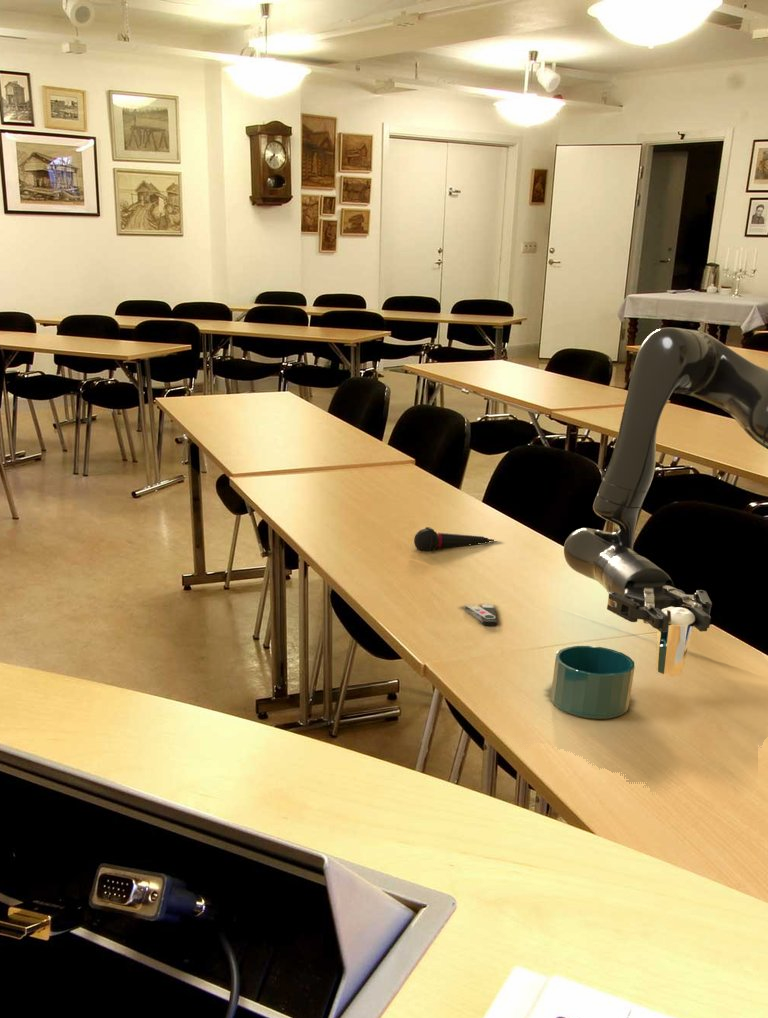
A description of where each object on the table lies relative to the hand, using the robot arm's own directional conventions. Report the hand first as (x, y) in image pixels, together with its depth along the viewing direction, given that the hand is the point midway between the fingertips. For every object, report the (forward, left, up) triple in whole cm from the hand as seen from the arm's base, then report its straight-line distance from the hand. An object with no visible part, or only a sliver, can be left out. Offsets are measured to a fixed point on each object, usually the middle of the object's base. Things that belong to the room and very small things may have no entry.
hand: (685, 624), depth 120 cm
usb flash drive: (-7, -40, -13) cm, 43 cm away
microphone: (-34, -71, -13) cm, 80 cm away
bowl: (+6, -8, -13) cm, 17 cm away
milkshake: (-2, -2, -8) cm, 9 cm away
